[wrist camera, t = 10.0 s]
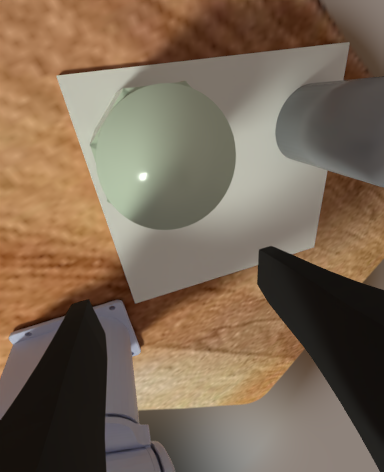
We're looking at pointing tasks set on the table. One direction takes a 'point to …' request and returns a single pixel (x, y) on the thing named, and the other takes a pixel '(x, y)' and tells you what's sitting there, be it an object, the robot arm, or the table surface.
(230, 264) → the grey mat
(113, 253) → the table surface
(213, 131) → the sage cup
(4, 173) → the table surface
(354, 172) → the grey pillar candle
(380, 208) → the table surface
